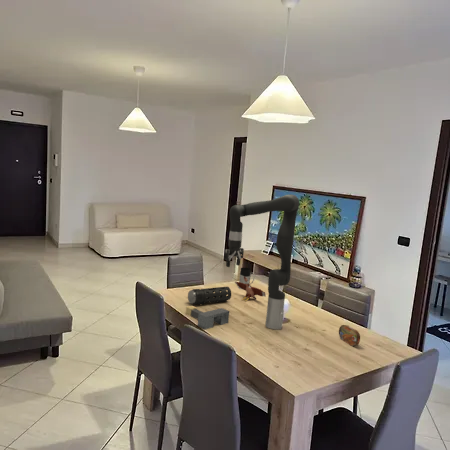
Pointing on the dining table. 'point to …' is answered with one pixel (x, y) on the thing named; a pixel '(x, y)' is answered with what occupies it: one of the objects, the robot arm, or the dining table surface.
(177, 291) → the dining table surface
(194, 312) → the plug rod
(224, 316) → the block
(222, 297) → the muzzle brake
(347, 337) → the tin
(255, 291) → the decorative bird
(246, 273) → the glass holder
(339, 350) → the dining table surface
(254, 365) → the dining table surface
